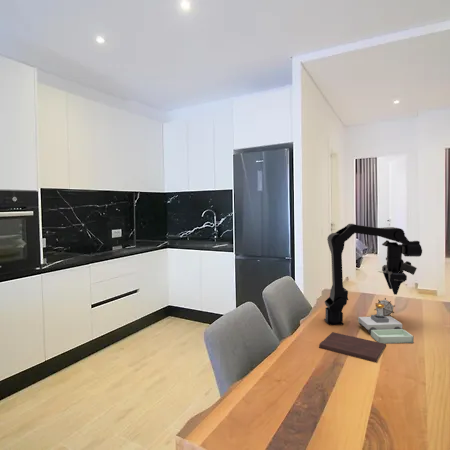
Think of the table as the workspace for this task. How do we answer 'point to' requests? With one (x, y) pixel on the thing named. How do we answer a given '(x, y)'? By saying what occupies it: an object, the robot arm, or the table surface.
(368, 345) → the notebook
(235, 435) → the table surface
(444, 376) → the table surface
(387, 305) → the game die
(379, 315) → the pin
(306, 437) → the table surface
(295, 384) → the table surface
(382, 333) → the tray
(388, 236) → the robot arm
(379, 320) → the white socket plate
